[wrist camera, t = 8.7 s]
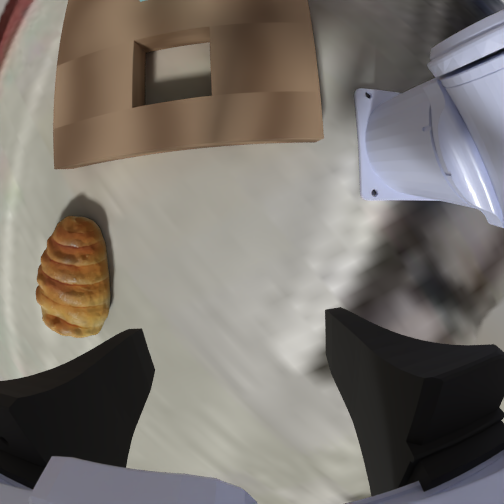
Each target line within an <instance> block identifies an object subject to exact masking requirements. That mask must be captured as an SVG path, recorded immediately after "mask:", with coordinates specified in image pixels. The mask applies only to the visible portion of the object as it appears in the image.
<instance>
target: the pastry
mask: <svg viewBox="0 0 504 504" xmlns="http://www.w3.org/2000/svg"><path fill="white" fill-rule="evenodd" d="M37 282H38V284H39V286H38V287H37V289H36V300H37V302H38V303H39V304H40V305H41V309H42V314H43V317H42V319H43V321H44V323H45V324H46V326H48V327H49V328H50V329H51V330H53V331H55V332H57V333H58V334H60V335H63V336H72V337H76V338H82V337H87V336H91V335H96V334H98V333H99V332H100V330H101V328H102V326H103V324H104V321H105V320H106V318H107V316H108V313H109V306H110V299H111V296H110V283H109V271H108V261H107V251H106V244H105V241H104V239H103V236H102V233H101V230H100V228H99V226H98V225H97V224H96V223H95V222H94V221H93V220H91V219H88V218H86V217H75V216H68V217H66V218H65V219H63V220H62V221H61V222H59V223H58V224H57V226H56V228H55V231H54V232H53V234H52V236H50V237H49V239H48V240H47V248H46V250H45V251H44V253H43V255H42V256H41V265H40V266H39V268H38V275H37Z"/></svg>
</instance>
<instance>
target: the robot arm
mask: <svg viewBox="0 0 504 504" xmlns="http://www.w3.org/2000/svg"><path fill="white" fill-rule="evenodd" d="M430 60H431V61H430V62H429V63H428V64H427V67H428V69H429V70H430V71H431V72H432V74H433V75H434V76H435V77H436V78H433V79H431V80H429V81H427V82H425V83H423V84H420V85H418V86H416V87H414V88H412V89H410V90H408V91H406V92H404V93H398V92H391V91H384V90H375V89H366V88H358V89H357V90H355V92H354V100H355V110H356V121H357V134H358V150H359V172H360V195H361V197H362V198H363V199H365V200H429V201H444V202H449V203H454V204H458V205H463V206H467V207H472V208H476V209H478V210H480V211H481V212H482V213H483V214H484V215H485V216H486V218H487V221H488V223H489V224H492V225H495V226H498V227H502V228H504V10H502V11H499V12H497V13H495V14H493V15H491V16H488V17H486V18H484V19H482V20H480V21H478V22H476V23H474V24H472V25H470V26H468V27H467V28H465V29H463V30H461V31H459V32H457V33H456V34H454V35H452V36H450V37H449V38H447V39H445V40H444V41H442V42H440V43H439V44H437V45H436V46H434V47H433V48H431V50H430ZM437 76H438V77H437ZM365 93H368V94H369V95H370V98H367V97H366V95H365ZM372 190H375V191H376V195H375V196H372V194H371V193H372ZM325 324H326V356H327V360H328V364H329V367H330V370H331V374H332V376H333V378H334V381H335V383H336V385H337V387H338V389H339V391H340V394H341V396H342V398H343V400H344V402H345V405H346V407H347V409H348V411H349V413H350V416H351V418H352V421H353V423H354V427H355V430H356V433H357V437H358V440H359V444H360V447H361V451H362V455H363V459H364V463H365V467H366V472H367V476H368V481H369V485H370V490H371V496H372V497H368V498H365V499H361V500H357V501H353V502H349V503H345V504H504V423H503V422H502V421H501V420H502V419H503V418H504V412H503V411H502V410H501V409H500V408H499V406H500V404H501V402H502V400H503V398H504V352H503V351H502V350H500V349H499V348H498V347H497V346H496V345H493V344H492V345H470V346H466V345H449V344H440V343H434V342H428V341H423V340H418V339H414V338H411V337H407V336H404V335H401V334H398V333H395V332H392V331H390V330H387V329H385V328H382V327H380V326H378V325H376V324H374V323H371V322H369V321H367V320H365V319H363V318H361V317H359V316H358V315H356V314H354V313H352V312H350V311H348V310H346V309H343V308H341V307H340V308H334V309H327V310H325ZM154 373H155V368H154V365H153V362H152V359H151V356H150V353H149V350H148V347H147V344H146V340H145V337H144V334H143V331H142V329H128V330H125V331H123V332H121V333H119V334H117V335H115V336H114V337H112V338H110V339H109V340H107V341H105V342H104V343H102V344H100V345H99V346H97V347H95V348H93V349H92V350H90V351H88V352H86V353H84V354H83V355H81V356H79V357H77V358H75V359H73V360H71V361H69V362H67V363H65V364H63V365H60V366H58V367H56V368H53V369H50V370H47V371H44V372H41V373H38V374H35V375H31V376H28V377H23V378H19V379H13V380H7V381H0V504H257V502H256V501H255V500H254V499H253V498H252V497H251V496H250V495H249V494H248V493H247V492H246V491H245V490H244V489H242V488H240V487H238V486H235V485H232V484H230V483H227V482H224V481H222V480H219V479H216V478H211V477H203V476H196V475H190V474H181V473H166V472H155V471H145V470H137V469H130V468H126V464H127V458H128V453H129V449H130V445H131V440H132V437H133V434H134V431H135V428H136V425H137V423H138V420H139V418H140V415H141V413H142V410H143V408H144V405H145V403H146V400H147V398H148V395H149V393H150V390H151V386H152V382H153V377H154Z"/></svg>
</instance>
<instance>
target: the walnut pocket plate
mask: <svg viewBox="0 0 504 504" xmlns="http://www.w3.org/2000/svg"><path fill="white" fill-rule="evenodd" d="M206 42H210V60H211V87H212V96H204V97H196V98H188V99H181V100H174V101H168V102H161V103H156V104H150V105H145V59H146V53H147V52H152V51H156V50H161V49H167V48H172V47H178V46H184V45H191V44H198V43H206ZM323 138H324V134H323V121H322V108H321V97H320V87H319V77H318V68H317V60H316V52H315V44H314V37H313V30H312V23H311V17H310V11H309V5H308V0H145V1H141V2H140V0H68V4H67V9H66V13H65V18H64V23H63V28H62V34H61V40H60V47H59V54H58V62H57V71H56V82H55V96H54V122H53V142H54V169H74V168H78V167H83V166H87V165H92V164H97V163H102V162H107V161H113V160H118V159H124V158H130V157H136V156H142V155H149V154H156V153H163V152H171V151H179V150H187V149H197V148H207V147H218V146H230V145H245V144H263V143H294V142H317V141H319V140H321V139H323Z"/></svg>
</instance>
